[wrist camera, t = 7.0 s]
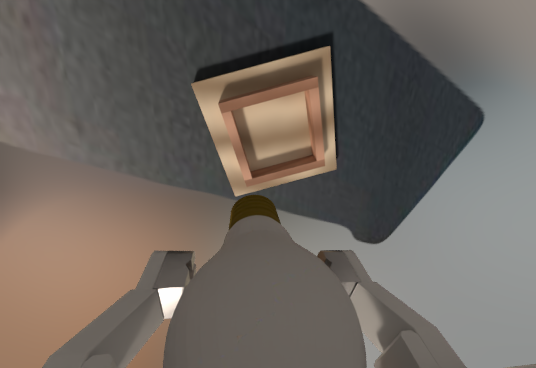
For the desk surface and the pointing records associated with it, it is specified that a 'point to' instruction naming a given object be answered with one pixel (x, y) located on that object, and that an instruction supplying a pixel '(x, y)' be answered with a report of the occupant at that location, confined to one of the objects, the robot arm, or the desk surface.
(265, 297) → the light bulb
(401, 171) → the desk surface
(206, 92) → the docking base
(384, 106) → the desk surface
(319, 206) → the desk surface
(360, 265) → the robot arm
